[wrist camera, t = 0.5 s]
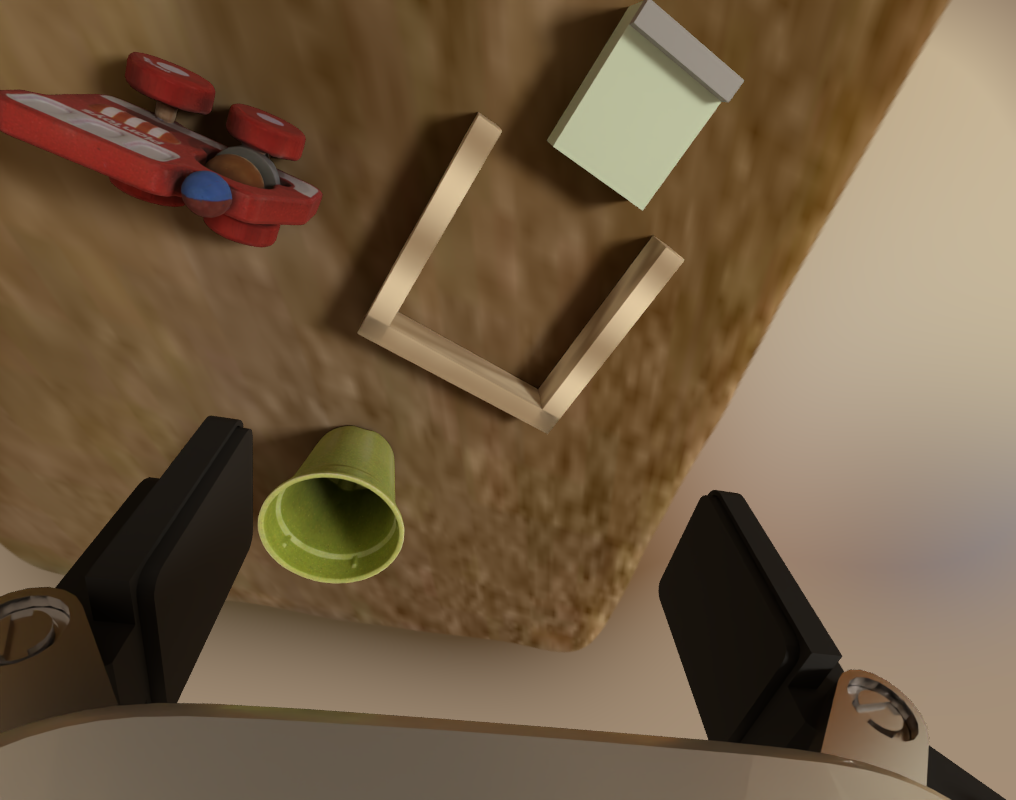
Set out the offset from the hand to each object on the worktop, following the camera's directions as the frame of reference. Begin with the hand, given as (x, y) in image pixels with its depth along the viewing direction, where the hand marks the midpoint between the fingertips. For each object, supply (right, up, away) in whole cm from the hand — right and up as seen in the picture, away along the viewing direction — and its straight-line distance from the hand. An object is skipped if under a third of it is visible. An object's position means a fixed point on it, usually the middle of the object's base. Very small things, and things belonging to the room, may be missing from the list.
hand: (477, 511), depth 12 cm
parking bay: (+1, +10, +27) cm, 29 cm away
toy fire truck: (-16, +17, +22) cm, 33 cm away
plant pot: (-11, -2, +34) cm, 35 cm away
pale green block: (+8, +20, +23) cm, 31 cm away
